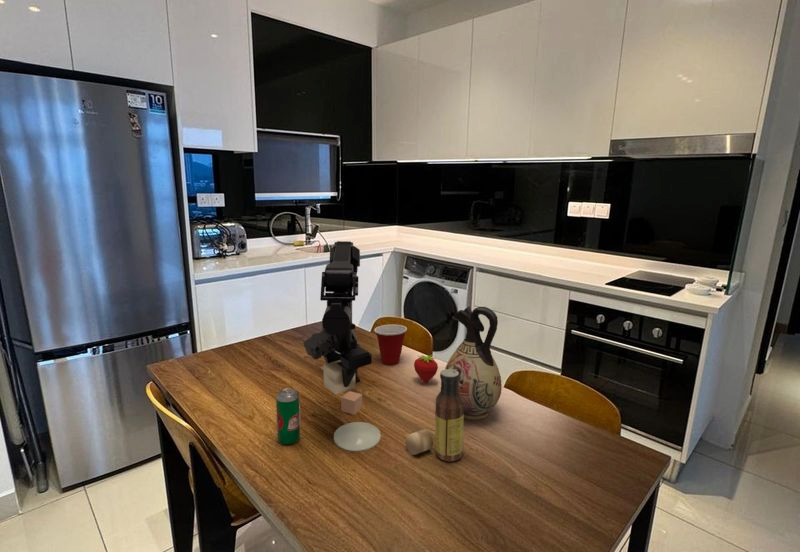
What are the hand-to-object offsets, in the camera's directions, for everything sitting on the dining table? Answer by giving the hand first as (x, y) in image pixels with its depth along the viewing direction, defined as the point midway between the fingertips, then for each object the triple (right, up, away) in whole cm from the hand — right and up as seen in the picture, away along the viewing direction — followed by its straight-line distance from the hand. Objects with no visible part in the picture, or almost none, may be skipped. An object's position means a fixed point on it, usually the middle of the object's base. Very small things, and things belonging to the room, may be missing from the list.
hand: (339, 382), depth 102 cm
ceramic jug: (+34, -11, +11) cm, 37 cm away
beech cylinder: (+17, -12, -7) cm, 22 cm away
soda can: (-11, -13, -3) cm, 17 cm away
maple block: (0, -1, 0) cm, 1 cm away
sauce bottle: (+25, -15, -7) cm, 30 cm away
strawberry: (+22, -7, +27) cm, 35 cm away
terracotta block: (+2, -10, +11) cm, 15 cm away
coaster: (+4, -13, -1) cm, 13 cm away
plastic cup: (+11, -3, +40) cm, 42 cm away
